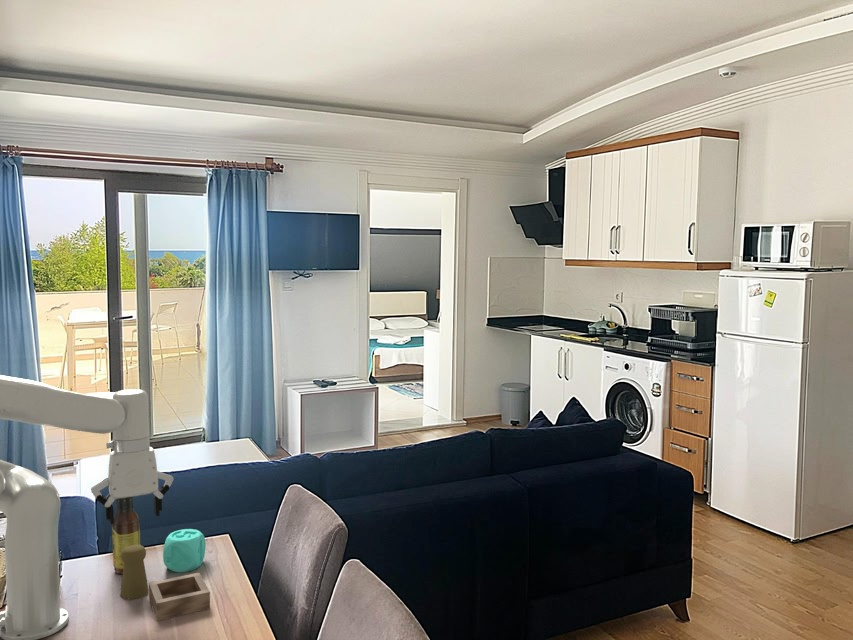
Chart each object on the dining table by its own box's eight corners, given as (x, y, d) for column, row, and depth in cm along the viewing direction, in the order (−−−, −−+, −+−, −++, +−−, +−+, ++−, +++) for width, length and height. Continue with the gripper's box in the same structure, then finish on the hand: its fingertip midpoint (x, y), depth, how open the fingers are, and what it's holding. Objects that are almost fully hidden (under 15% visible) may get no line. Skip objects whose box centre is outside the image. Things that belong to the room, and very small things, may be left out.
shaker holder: (156, 620, 147) (156, 603, 147) (149, 599, 157) (148, 582, 156) (210, 608, 153) (209, 591, 152) (199, 588, 162) (199, 572, 162)
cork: (138, 600, 156) (137, 553, 155) (114, 598, 157) (113, 550, 156) (154, 588, 162) (153, 542, 161) (130, 586, 163) (129, 540, 162)
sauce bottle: (121, 564, 175) (119, 486, 173) (145, 564, 175) (143, 487, 173) (108, 575, 168) (105, 495, 167) (133, 576, 168) (131, 496, 167)
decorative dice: (195, 572, 170) (195, 541, 170) (163, 572, 170) (162, 540, 170) (206, 559, 178) (205, 528, 178) (174, 558, 178) (174, 528, 178)
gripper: (90, 453, 149) (93, 531, 151) (174, 443, 158) (177, 516, 159) (88, 445, 156) (91, 520, 157) (169, 436, 164) (171, 506, 166)
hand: (134, 518), depth 158 cm, fingers open, 9 cm apart
